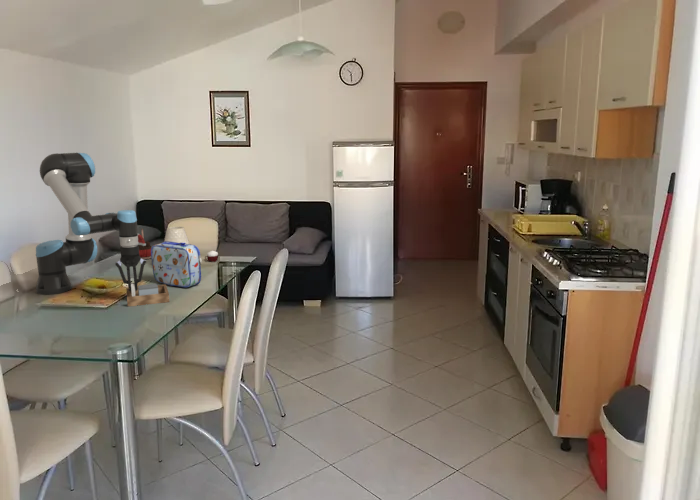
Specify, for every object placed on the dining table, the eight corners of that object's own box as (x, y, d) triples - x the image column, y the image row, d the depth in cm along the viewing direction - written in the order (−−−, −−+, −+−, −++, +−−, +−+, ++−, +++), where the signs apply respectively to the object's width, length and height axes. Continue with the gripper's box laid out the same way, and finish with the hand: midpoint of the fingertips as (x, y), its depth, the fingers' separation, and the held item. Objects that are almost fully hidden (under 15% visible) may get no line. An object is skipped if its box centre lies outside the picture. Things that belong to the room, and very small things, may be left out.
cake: (156, 258, 338) (154, 228, 334) (143, 261, 330) (141, 230, 327) (145, 256, 344) (142, 227, 340) (132, 259, 336) (129, 229, 332)
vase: (189, 273, 301) (186, 230, 296) (157, 273, 301) (153, 230, 296) (198, 265, 318) (196, 225, 313) (168, 265, 318) (165, 225, 313)
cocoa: (204, 263, 325) (202, 243, 322) (206, 260, 331) (204, 240, 328) (221, 262, 326) (219, 242, 323) (223, 259, 332) (220, 239, 329)
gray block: (139, 302, 249) (138, 288, 247) (139, 298, 254) (137, 285, 253) (158, 299, 252) (157, 286, 251) (157, 296, 257) (156, 283, 256)
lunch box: (207, 285, 275) (204, 241, 271) (192, 290, 266) (189, 245, 262) (166, 279, 288) (163, 236, 284) (150, 283, 279) (147, 240, 275)
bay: (127, 306, 242) (126, 297, 241) (127, 296, 257) (126, 288, 256) (169, 302, 248) (168, 293, 247) (166, 292, 263) (165, 284, 262)
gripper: (113, 248, 240) (118, 301, 244) (145, 246, 244) (149, 298, 249) (113, 245, 246) (118, 297, 251) (144, 243, 251) (148, 294, 256)
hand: (133, 297), depth 250 cm, fingers closed
